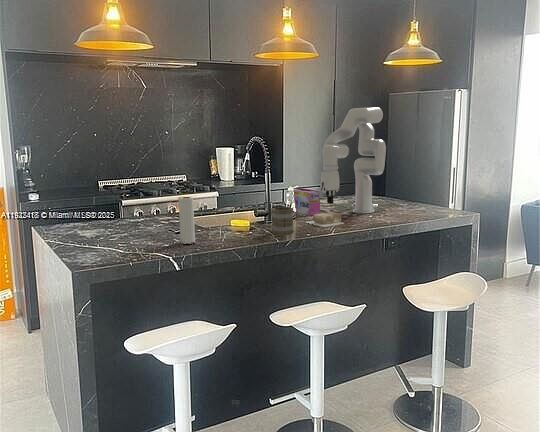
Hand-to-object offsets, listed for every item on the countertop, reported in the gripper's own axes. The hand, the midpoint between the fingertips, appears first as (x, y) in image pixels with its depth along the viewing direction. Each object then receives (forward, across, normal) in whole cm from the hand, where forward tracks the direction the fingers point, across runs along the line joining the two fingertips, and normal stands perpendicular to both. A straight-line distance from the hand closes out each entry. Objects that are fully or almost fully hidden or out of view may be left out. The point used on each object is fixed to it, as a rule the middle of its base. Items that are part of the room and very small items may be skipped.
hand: (330, 203), depth 286 cm
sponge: (+8, -4, 0) cm, 9 cm away
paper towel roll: (+10, +82, -3) cm, 83 cm away
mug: (+10, +34, +3) cm, 36 cm away
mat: (+10, +4, 0) cm, 11 cm away
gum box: (+11, -8, -34) cm, 36 cm away
